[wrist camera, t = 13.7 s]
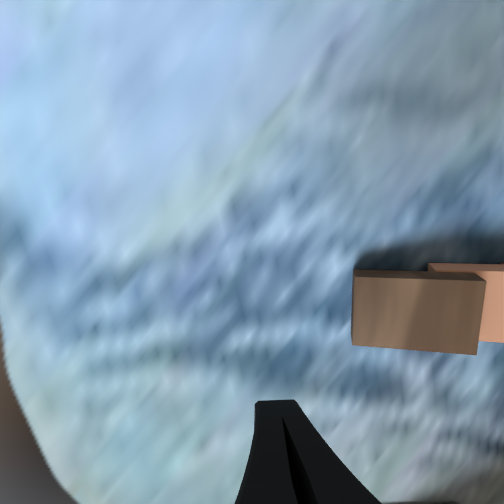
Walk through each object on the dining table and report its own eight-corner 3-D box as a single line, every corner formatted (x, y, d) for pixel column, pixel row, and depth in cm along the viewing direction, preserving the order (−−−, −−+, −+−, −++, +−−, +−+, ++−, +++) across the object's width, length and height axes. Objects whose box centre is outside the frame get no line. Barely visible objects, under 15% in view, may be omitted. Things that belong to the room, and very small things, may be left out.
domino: (353, 269, 21) (474, 272, 19) (350, 333, 22) (465, 341, 20) (354, 276, 19) (486, 281, 18) (352, 345, 20) (476, 355, 19)
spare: (428, 263, 21) (554, 265, 19) (422, 326, 22) (541, 333, 20) (435, 269, 20) (573, 273, 18) (429, 337, 21) (558, 346, 19)
